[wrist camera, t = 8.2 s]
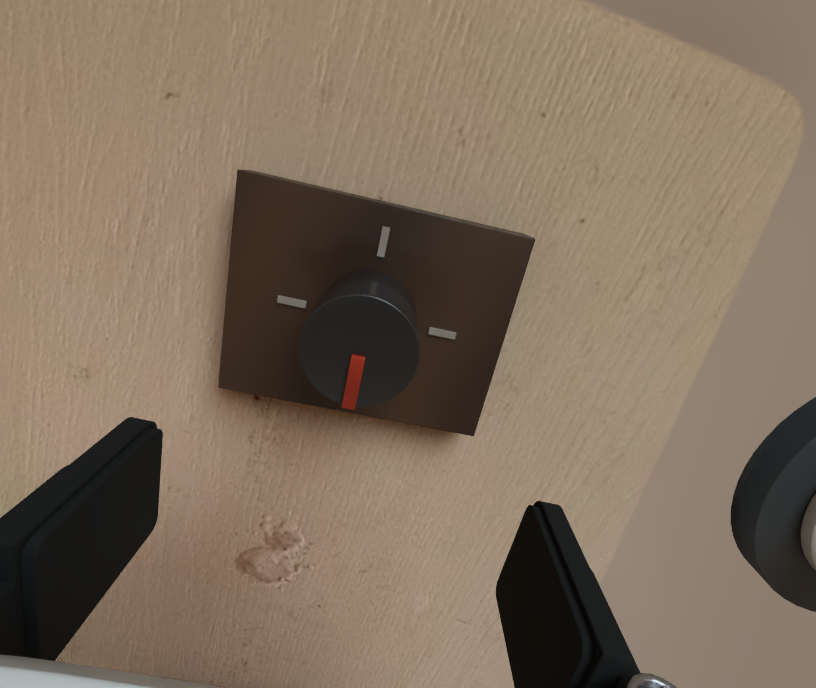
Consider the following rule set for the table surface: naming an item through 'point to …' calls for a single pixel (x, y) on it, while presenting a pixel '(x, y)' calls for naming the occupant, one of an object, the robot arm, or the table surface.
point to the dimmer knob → (361, 340)
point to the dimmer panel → (379, 251)
